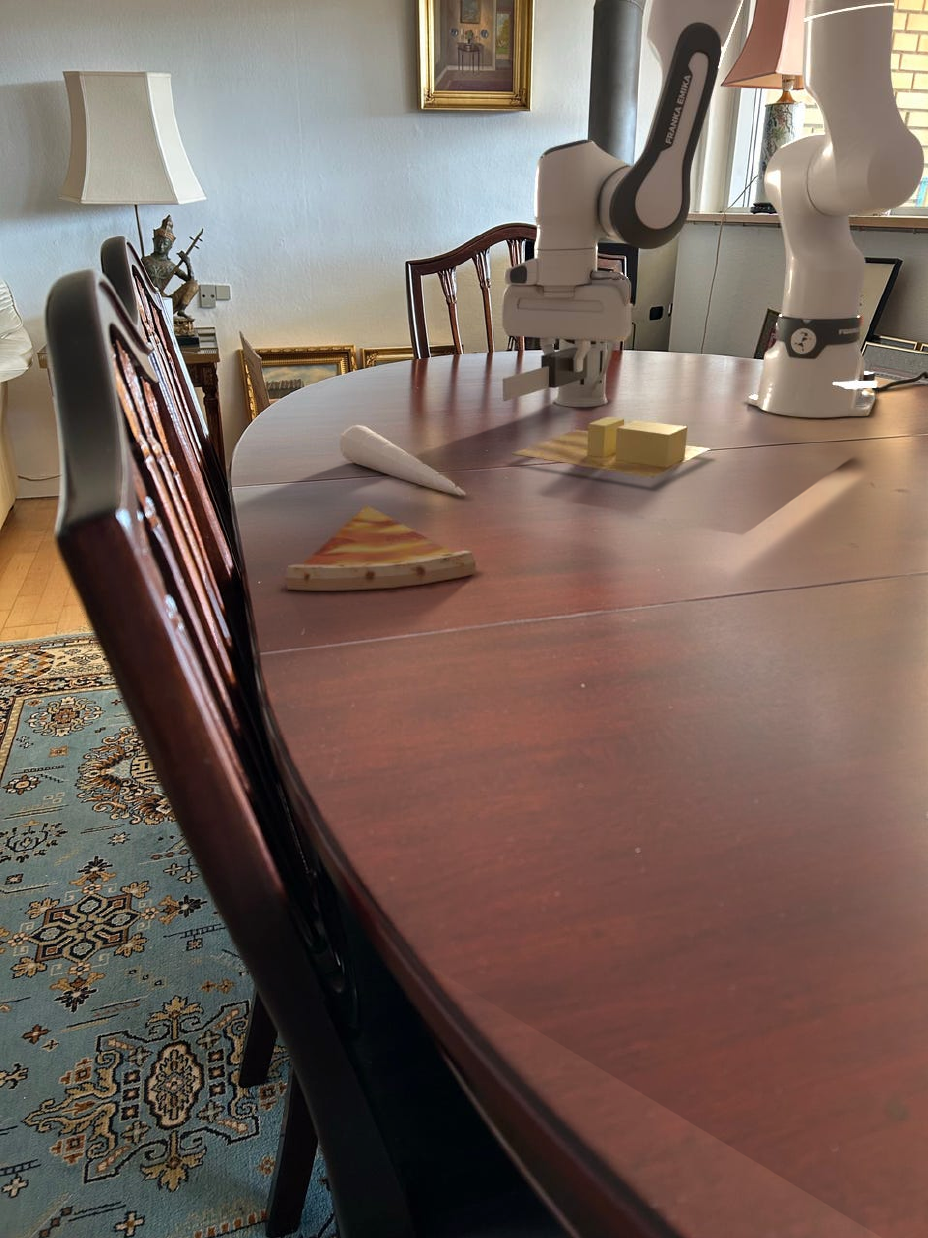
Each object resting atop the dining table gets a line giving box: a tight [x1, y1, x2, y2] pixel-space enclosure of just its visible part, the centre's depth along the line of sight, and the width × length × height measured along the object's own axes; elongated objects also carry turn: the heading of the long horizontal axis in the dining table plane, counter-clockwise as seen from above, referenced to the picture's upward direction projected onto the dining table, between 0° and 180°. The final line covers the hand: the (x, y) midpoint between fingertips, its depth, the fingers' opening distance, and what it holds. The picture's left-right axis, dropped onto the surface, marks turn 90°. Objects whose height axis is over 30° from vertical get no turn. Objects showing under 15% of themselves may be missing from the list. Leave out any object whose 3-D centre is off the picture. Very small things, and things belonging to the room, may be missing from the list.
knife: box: [502, 347, 587, 402], centre depth 128 cm, size 20×2×4 cm, turn 142°
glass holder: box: [555, 339, 614, 408], centre depth 145 cm, size 9×14×15 cm, turn 18°
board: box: [511, 429, 710, 479], centre depth 115 cm, size 16×20×2 cm
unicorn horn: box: [339, 424, 467, 496], centre depth 109 cm, size 5×24×5 cm, turn 35°
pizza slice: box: [285, 504, 477, 592], centre depth 86 cm, size 16×22×2 cm
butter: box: [615, 419, 688, 468], centre depth 110 cm, size 5×7×4 cm
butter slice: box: [587, 416, 625, 458], centre depth 113 cm, size 5×2×4 cm, turn 142°
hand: (564, 370), depth 132 cm, fingers closed on knife, 2 cm apart
